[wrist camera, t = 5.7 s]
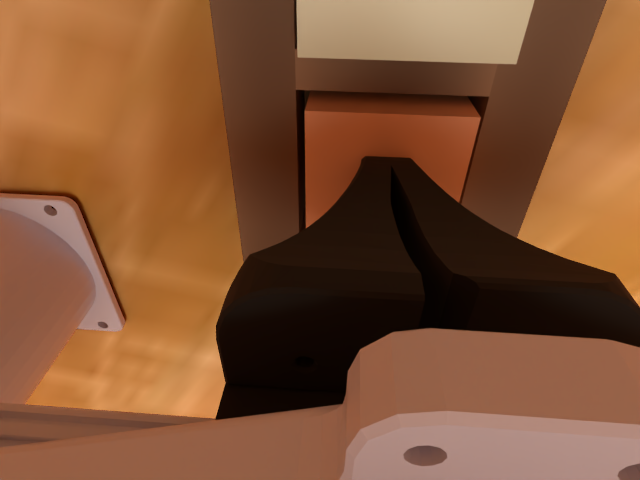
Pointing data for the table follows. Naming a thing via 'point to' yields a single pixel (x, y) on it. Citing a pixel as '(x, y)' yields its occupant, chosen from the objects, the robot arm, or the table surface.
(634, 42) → the table surface
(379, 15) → the key sage
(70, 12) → the table surface
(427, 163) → the key terracotta
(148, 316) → the table surface
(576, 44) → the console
